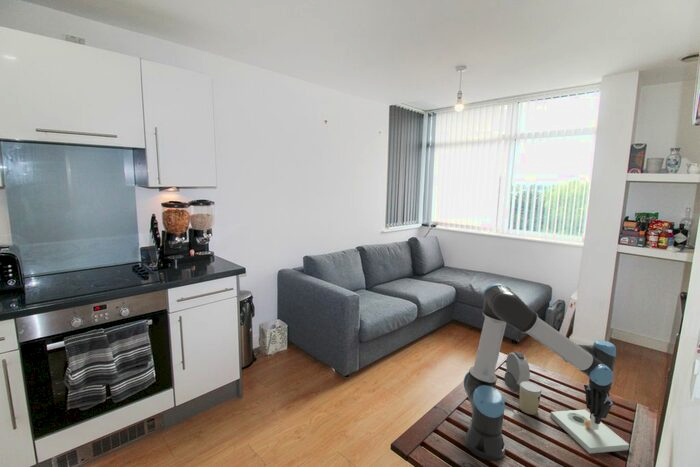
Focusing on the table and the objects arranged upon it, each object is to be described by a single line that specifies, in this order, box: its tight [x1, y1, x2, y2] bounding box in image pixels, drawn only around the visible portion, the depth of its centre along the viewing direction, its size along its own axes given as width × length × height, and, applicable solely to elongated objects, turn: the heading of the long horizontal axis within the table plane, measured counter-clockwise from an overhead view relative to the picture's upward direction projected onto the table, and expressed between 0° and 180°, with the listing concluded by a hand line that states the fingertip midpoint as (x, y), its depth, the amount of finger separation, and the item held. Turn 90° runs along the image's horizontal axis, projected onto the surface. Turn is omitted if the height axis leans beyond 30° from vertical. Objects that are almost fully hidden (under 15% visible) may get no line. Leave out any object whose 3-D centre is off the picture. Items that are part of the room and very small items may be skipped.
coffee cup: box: [518, 380, 543, 415], centre depth 161 cm, size 9×9×12 cm
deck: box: [550, 409, 630, 454], centre depth 147 cm, size 22×18×2 cm
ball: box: [584, 420, 591, 429], centre depth 146 cm, size 4×4×4 cm
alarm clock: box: [503, 350, 531, 392], centre depth 181 cm, size 16×10×18 cm, turn 179°
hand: (593, 428), depth 144 cm, fingers closed
